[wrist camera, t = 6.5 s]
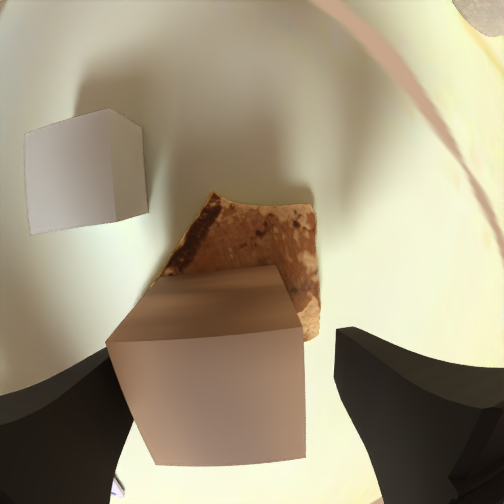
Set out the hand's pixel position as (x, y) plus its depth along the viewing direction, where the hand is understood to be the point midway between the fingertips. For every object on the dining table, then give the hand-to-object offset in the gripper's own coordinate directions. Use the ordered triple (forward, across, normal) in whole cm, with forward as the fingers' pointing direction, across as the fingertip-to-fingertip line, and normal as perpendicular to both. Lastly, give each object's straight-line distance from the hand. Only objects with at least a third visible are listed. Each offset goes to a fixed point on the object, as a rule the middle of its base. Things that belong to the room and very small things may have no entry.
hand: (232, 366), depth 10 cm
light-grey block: (+5, +6, -7) cm, 10 cm away
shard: (+6, 0, 0) cm, 6 cm away
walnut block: (+4, 0, 0) cm, 4 cm away
